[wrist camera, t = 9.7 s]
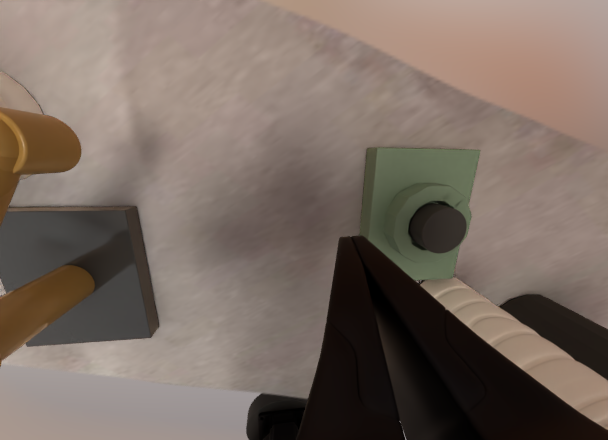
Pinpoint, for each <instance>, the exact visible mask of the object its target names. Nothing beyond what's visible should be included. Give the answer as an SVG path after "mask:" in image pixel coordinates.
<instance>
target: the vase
mask: <svg viewBox="0 0 608 440" xmlns="http://www.w3.org/2000/svg"><path fill="white" fill-rule="evenodd" d="M500 308H501V309H503V310H504V311H506V312H507V313H509V314H510V315H512V316H513V317H514V318H516V319H517V320H518V321H519V322H521V323H522V324H524V325H526V326H528V327H529V328H531V329H532V330H534V331H535V332H536V333H538V334H539V335H540V337H543V338H545V339H546V340H548V341H550V342H551V343H553V344H555V345H556V346H558V347H559V348H560V349H562V350H563V351H565V352H566V353H567V354H569V355H570V356H571V357H572V358H573V359H574V360H575V361H577V362H580V363H582V364H583V365H585V366H587V367H588V368H590V369H592V370H593V371H595V372H596V373H598V374H599V375H600V376H602V377H603V378H605V379H606V380H608V329H606V328H604V327H602V326H600V325H598V324H596V323H594V322H592V321H591V320H589V319H587V318H585V317H583V316H581V315H579V314H577V313H575V312H573V311H571V310H569V309H568V308H566V307H564V306H562V305H560V304H558V303H556V302H554V301H552V300H550V299H548V298H546V297H543V296H541V295H524V296H522V297H519V298H516V299H513V300H510V301H509V302H507V303H506V304H504V305H503V306H501V307H500Z"/></svg>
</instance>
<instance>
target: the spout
mask: <svg viewBox="0 0 608 440" xmlns="http://www.w3.org/2000/svg"><path fill="white" fill-rule="evenodd" d="M80 157H81V145H80V142H79V139H78V137H77V136H76V134H75V133H74V131H73V130H72V129H71V128H70V127H69V126H68V125H66V124H65V123H64V122H62V121H60V120H59V119H57V118H54V117H51V116H47V115H42V114H36V113H31V112H25V111H20V110H14V109H9V108H3V107H0V226H1V224H2V221H3V219H4V216H5V214H6V211H7V209H8V207H9V204H10V202H11V199H12V197H13V194H14V192H15V189H16V187H17V184H18V182H19V179H20V177H21V175H29V174H43V173H57V172H65V171H68V170H70V169H72V168H73V167H74V166H75V165H76V164H77V163H78V162H79V160H80ZM0 366H1V355H0Z"/></svg>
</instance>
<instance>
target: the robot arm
mask: <svg viewBox="0 0 608 440" xmlns="http://www.w3.org/2000/svg"><path fill="white" fill-rule="evenodd" d="M399 421H400V422H401V423H400V422H399ZM402 428H403V429H402ZM258 429H259V440H405V437H404V434H403V430H404V433H405V436H406V439H407V440H608V430H607V429H605V428H604V427H602V426H600V425H599V424H597V423H596V422H594V421H592V420H591V419H589V418H588V417H586V416H585V415H583V414H582V413H580V412H578V411H577V410H576V409H574V408H573V407H571V406H570V405H569V404H567V403H566V402H565V401H563V400H562V399H561V398H559V397H558V396H557V395H555V394H554V393H553V392H551V391H550V390H549V389H547V388H546V387H545V386H543V385H542V384H541V383H539V382H538V381H537V380H535V379H534V378H533V377H531V376H530V375H529V374H528V373H526V372H525V371H524V370H522V369H521V368H520V367H518V366H517V365H516V364H514V363H513V362H512V361H510V360H509V359H508V358H506V357H505V356H504V355H502V354H501V353H500V352H499V351H497V350H496V349H495V348H493V347H492V346H491V345H490V344H488V343H487V342H486V341H484V340H483V339H482V338H481V337H479V336H478V335H477V334H476V333H475V332H473V331H472V330H471V329H470V328H469V327H468V326H466V325H465V324H464V323H463V322H462V321H460V320H459V319H458V318H457V317H456V316H455V315H454V314H452V313H451V312H450V311H449V310H446V308H445V307H444V306H443V305H442V304H441V303H440V302H439V301H437V300H436V299H435V298H434V297H433V296H432V295H431V294H429V293H428V292H427V291H426V290H425V289H424V288H423V287H421V286H420V285H419V284H418V283H417V282H416V281H415V280H413V279H412V278H411V277H410V276H409V275H408V274H407V273H405V272H404V271H403V270H402V269H401V268H400V267H399V266H398V265H396V264H395V263H394V262H393V261H392V260H391V259H390V258H388V257H387V256H386V255H385V254H384V253H383V252H382V251H380V250H379V249H378V248H377V247H376V246H375V245H374V244H372V243H371V242H370V241H369V240H368V239H367V238H366V237H364V236H363V235H357V236H352V237H350V236H347V237H340V238H339V243H338V250H337V256H336V263H335V269H334V275H333V282H332V288H331V295H330V301H329V308H328V314H327V323H326V326H325V332H324V338H323V343H322V349H321V354H320V358H319V362H318V366H317V369H316V373H315V377H314V380H313V384H312V387H311V391H310V394H309V398H308V401H307V404H306V408H296V409H287V410H278V411H269V412H261V413H259V414H258Z"/></svg>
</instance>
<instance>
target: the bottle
mask: <svg viewBox="0 0 608 440" xmlns="http://www.w3.org/2000/svg"><path fill="white" fill-rule="evenodd" d="M0 107H3V108H9V109H14V110H20V111H25V112H31V113H36V114H42V115H43V113H42V111H41V109H40V106H39V105H38V104H37V102H36V101H35V100H34V99H33V98H32V96H31V95H30V94H29V93H28V92H27V91H26V89H25V88H24V87H23V86H21V85H20V84H19V83H17V82H16V81H15V80H13V79H12V78H11V77H9V76H8V75H7V74H5V73H3V72H1V71H0ZM30 175H32V174H29V175H21V177H20V179H19V180H21V179H25V178H27V177H29V176H30Z"/></svg>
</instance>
